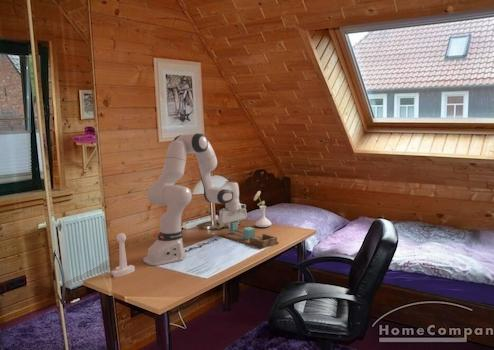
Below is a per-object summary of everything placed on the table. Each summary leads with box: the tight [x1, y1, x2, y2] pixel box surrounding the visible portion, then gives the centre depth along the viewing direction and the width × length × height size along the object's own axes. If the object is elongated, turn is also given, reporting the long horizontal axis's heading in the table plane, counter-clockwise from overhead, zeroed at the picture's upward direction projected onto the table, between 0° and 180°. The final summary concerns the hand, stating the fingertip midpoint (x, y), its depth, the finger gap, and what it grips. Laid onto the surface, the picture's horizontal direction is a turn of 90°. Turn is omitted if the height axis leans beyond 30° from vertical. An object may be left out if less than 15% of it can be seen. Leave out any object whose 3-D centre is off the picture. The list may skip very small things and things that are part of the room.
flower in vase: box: [253, 190, 273, 228], centre depth 280 cm, size 13×11×25 cm
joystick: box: [110, 232, 136, 278], centre depth 202 cm, size 11×8×20 cm
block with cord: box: [228, 222, 256, 240], centre depth 256 cm, size 5×19×6 cm, turn 41°
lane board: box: [221, 230, 279, 250], centre depth 251 cm, size 14×36×4 cm, turn 41°
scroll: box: [214, 219, 243, 230], centre depth 283 cm, size 8×8×20 cm
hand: (233, 228), depth 262 cm, fingers closed on block with cord, 3 cm apart
